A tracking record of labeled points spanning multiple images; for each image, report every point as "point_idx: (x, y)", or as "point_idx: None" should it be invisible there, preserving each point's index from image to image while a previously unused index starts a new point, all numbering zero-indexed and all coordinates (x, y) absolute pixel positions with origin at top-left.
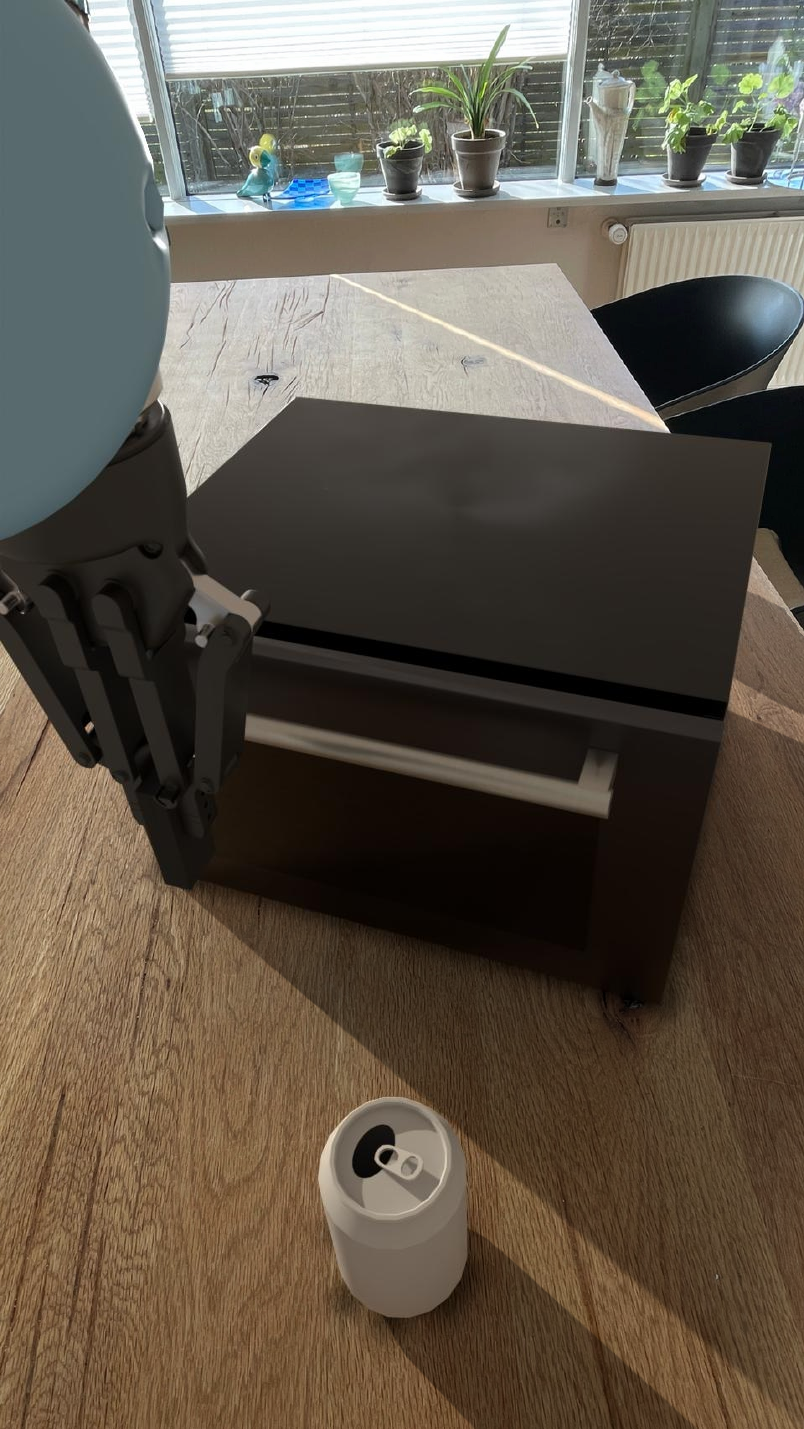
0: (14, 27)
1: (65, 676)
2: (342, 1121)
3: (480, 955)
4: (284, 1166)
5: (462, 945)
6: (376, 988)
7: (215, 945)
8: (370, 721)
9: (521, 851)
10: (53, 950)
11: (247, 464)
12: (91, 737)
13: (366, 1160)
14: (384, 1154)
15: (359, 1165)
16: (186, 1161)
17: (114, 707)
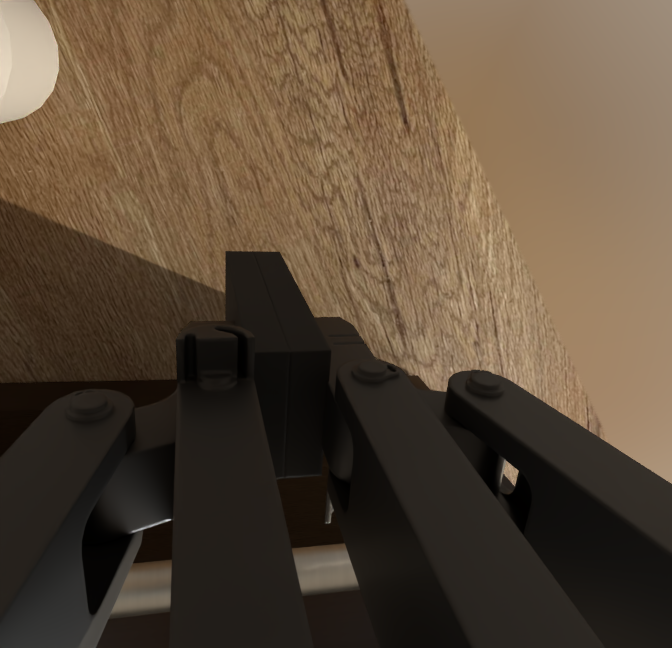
0: None
1: (652, 623)
2: (3, 86)
3: (45, 383)
4: (153, 106)
5: (65, 387)
6: (143, 317)
7: (328, 314)
8: (107, 645)
9: None
10: (482, 264)
11: None
12: (488, 448)
13: (30, 103)
14: (14, 117)
15: (35, 96)
16: (254, 86)
17: (421, 567)
